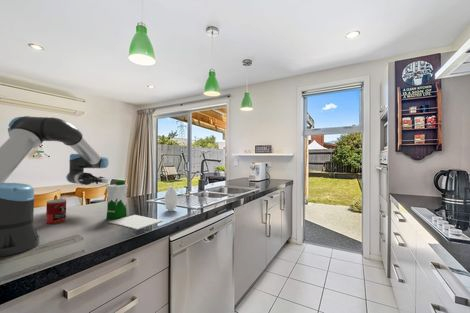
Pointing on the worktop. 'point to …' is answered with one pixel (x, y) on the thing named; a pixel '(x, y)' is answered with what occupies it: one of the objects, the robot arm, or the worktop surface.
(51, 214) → the canned food
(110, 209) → the soya milk
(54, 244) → the worktop surface
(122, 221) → the mat
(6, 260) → the worktop surface
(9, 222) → the robot arm
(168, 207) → the sauce bottle
